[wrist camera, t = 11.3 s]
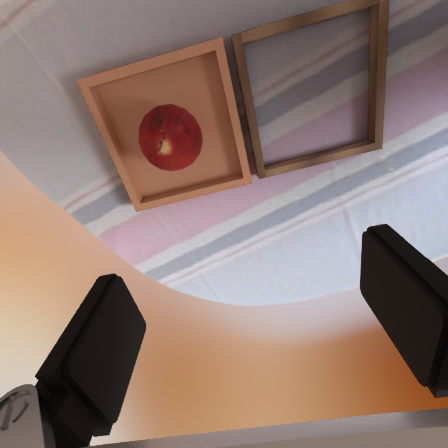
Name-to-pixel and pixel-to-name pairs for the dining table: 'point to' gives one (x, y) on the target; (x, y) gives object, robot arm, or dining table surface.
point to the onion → (170, 137)
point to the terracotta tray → (180, 96)
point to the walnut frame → (377, 75)
